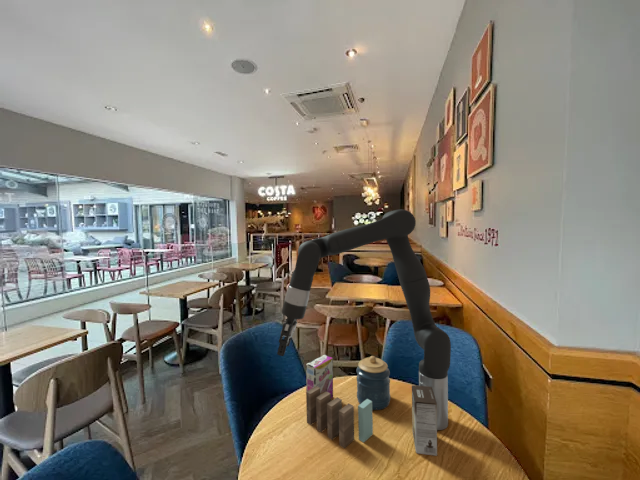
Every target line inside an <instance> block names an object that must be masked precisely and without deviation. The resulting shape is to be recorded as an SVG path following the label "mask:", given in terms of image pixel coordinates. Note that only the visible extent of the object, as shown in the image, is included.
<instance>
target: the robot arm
mask: <svg viewBox="0 0 640 480" xmlns="http://www.w3.org/2000/svg"><path fill="white" fill-rule="evenodd" d="M415 227H416V218H415V216H414V214H413V213H411V211H409V210H406V209H401V208H400V209H399V208H398V209H394V210H390V211H388V212H386V213H384V215H383V216H382V218H381V219H379V220H376V221H373V222H370V223H366V224H363V225H358V226H353V227H349V228H345V229H341V230H340V231H336V232H333V233H330V234H328V235H325V236H322V237H318V238H313V239H309V240H306V241H304V242H301V244H300V245H299V246H298V250H297V258H296V262H295V267H294V270H293V271H292V274H291V276H290V281H289V285H288V288H287V290H286V293H285V297H284V300H283V304H282V308H281V314H282V315H283V317H284V316H285V317H286V318H285V320H283V324H282V329H281V331H280V337H279V339H278V343H279V345H278V349H277V352H276V355H277V356H280V357H284V356H285V354H286V349H287V347H290V345H291V340H292V337H293V335H294V332H295V330H296V327H297V324H298V321H297V320H302V319H304V318H305V314H306V312H307V307H308V303H309V301H310V300H309V299H310V294H311V288H312V285H313V281H314V277H315V273H316V271H317V267H318V265H319V263H320V260H321V258H325V257H328V256H336V255H339V254H342V253H345V252H348V251H351V250H354V249H357V248H360V247H363V246H366V245H368V244H372V243H375V242H378V241H382V240H386V242H387V245H388V247H389V249H390V252H391V255H392V259H393V260H392V261H393V263H394V266H395V270H396V273H397V278H398V281H399V284H400V288H401V290H402V293H403V296H404V299H405V302H406V306H407V308H408V310H409V311H408V312H409V314H410V317H411V323H412V328H413V329H412V330H413V334H414V339H415V341H416V343H417V344H418V346H419V347H420V348H421V349H422V350H423V359H421V360H420V361H419V363H418V386H429V387H432V389H433V392H434V396H435V399H436V402H437V431H442V430H445V429H447V427H448V426H449V393H448V392H449V386H448V385H449V384H448V383H449V382H448V380H449V379H448V376H449V374H448V373H449V369H450V367H451V355H452V353H451V350H452V347H451V346H452V345H451V339H450V336H449V335H448V333H447V332H446V331H444V330H443V329H441V328H439V326H437V325H436V323H435V320H434V318H433V315H432V312H431V308H430V307H431V306H430V301H431V286H430V282H429V279H428V275H427V272H426V270H425V269H426V268H424V266H423V264H422V263H421V261H420V259H419V258H418V256H417V254H416V253H415V251H414V250H413V247H412V245H411V242H410V239H409V236H408V235H410V234H411V233H412V232H413V231H414V229H415Z"/></svg>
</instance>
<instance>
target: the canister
mask: <svg viewBox="0 0 640 480" xmlns="http://www.w3.org/2000/svg"><path fill="white" fill-rule="evenodd" d="M357 365H358V366H357V368H356V374H357V375H356V390H357V391H356V398H357V402H358V403H359V405H360V404H361V403H362V402H364V401H365V400H366V399H369V400H371V401H372V411H378V410H379V411H380V410H384V409H386V408H387V407H388V406H389V405H390V401H391V393H390V392H391V389H390V387H391V386H390V385H391V379H390V375H391V372H390V369H389V368H388V367H389V366H388V364H387V362H385V361H384V360H382V358H378V357H376V356H375V355H371V356H368V357H364V358H363V359H361V360H360V361H359V362H358V364H357Z"/></svg>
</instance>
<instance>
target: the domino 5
mask: <svg viewBox="0 0 640 480" xmlns="http://www.w3.org/2000/svg"><path fill="white" fill-rule="evenodd" d="M357 414H358V415H357V416H358V417H357V418H358V419H357V420H358V421H357V422H358V423H357V424H358V440H359V441H360V442H362V443H365V442H367V441H368V439H370V438H371V437H372V436H373V435H374V434H373V433H374V431H373V430H374V429H373V428H374V427H373V426H374V425H373V422H374V421H373V410H372V401H371V400H369V399H366V400H365V401H364V402H362V403H361V404H360V403H359V404H358V405H357Z"/></svg>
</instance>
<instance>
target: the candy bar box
mask: <svg viewBox="0 0 640 480" xmlns="http://www.w3.org/2000/svg"><path fill="white" fill-rule="evenodd" d="M333 361H334V357H331V356H329V355H327V354H323V355H321V356H319V357H317V358H315V359H313V360H311V361H309V362H307V363H306V364H305V371H306V372H305V374H306V375H305V376H306V377H305V379H306V381H305V382H306V383H305V384H306V386H305V387H306V388H305V389H306V390H305V393H306V392H307V391H308V390H310V389H312V388H314V387H315V386H317V387H319V388H320V395H321V394H323V393H324V392H326V391H327V392H329V393H330V394H331V399H332V398H334V362H333Z"/></svg>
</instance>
